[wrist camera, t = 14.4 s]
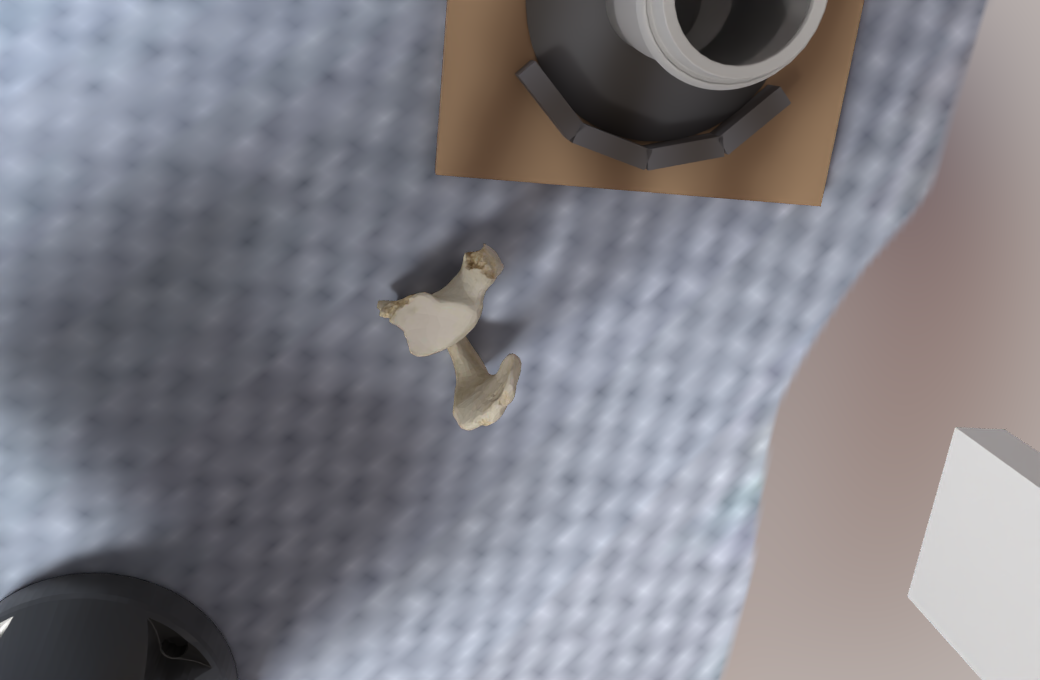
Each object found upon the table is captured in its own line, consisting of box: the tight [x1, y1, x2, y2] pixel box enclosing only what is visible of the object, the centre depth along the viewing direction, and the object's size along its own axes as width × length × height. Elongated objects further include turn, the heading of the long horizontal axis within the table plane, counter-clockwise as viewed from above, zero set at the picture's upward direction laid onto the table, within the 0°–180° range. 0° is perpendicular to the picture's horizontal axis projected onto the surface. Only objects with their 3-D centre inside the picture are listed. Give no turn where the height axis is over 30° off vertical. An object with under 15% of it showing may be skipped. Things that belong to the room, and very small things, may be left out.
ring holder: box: [435, 0, 864, 206], centre depth 42 cm, size 20×18×3 cm
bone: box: [377, 244, 521, 430], centre depth 43 cm, size 9×6×10 cm
